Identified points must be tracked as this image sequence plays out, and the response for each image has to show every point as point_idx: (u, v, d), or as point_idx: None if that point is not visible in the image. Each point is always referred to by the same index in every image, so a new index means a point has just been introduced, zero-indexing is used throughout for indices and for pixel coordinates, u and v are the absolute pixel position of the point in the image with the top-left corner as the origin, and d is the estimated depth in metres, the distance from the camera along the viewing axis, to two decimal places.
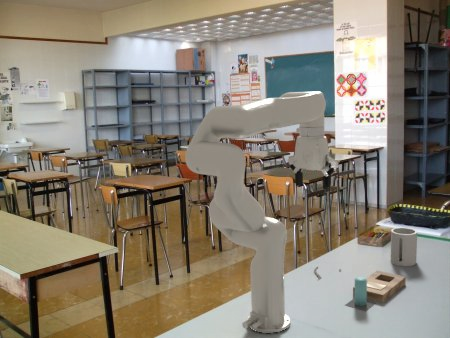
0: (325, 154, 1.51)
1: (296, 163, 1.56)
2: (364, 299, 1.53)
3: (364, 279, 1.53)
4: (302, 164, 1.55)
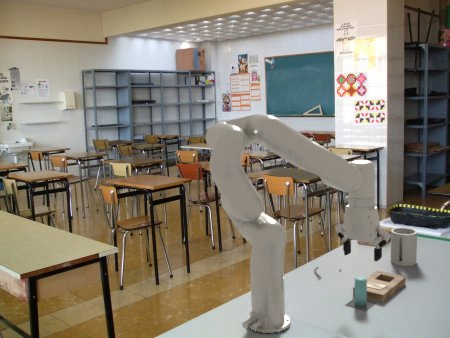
0: (376, 226, 1.46)
1: (345, 233, 1.51)
2: (364, 299, 1.53)
3: (364, 279, 1.53)
4: (352, 235, 1.50)
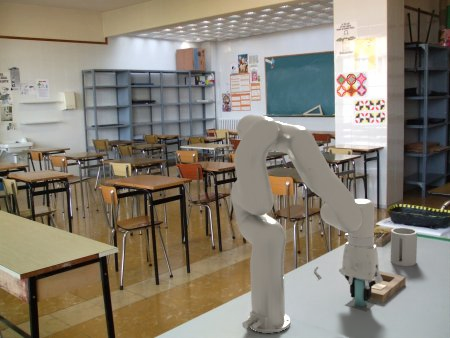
0: (375, 264, 1.48)
1: (344, 270, 1.53)
2: None
3: None
4: (350, 272, 1.52)
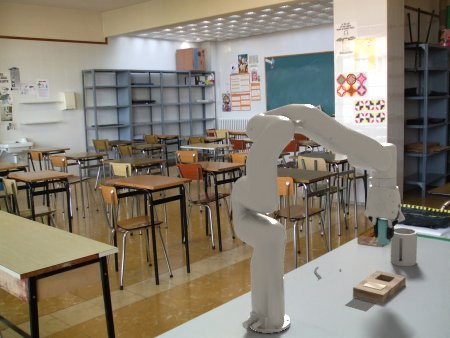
0: (398, 204, 1.58)
1: (368, 211, 1.63)
2: None
3: (387, 219, 1.62)
4: (374, 212, 1.61)
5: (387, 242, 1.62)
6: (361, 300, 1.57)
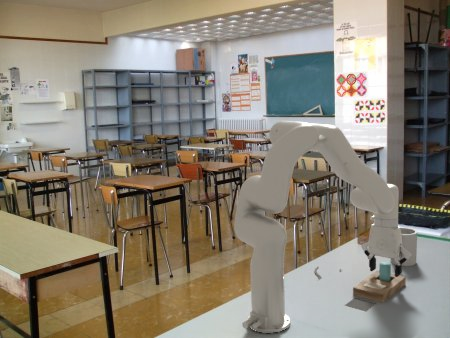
0: (399, 244, 1.61)
1: (370, 249, 1.66)
2: None
3: (388, 263, 1.66)
4: (376, 251, 1.65)
5: None
6: (361, 300, 1.57)
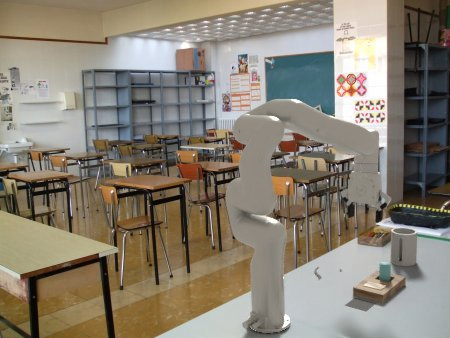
0: (379, 189, 1.59)
1: (349, 196, 1.64)
2: None
3: (388, 263, 1.66)
4: (355, 198, 1.63)
5: None
6: (361, 300, 1.57)
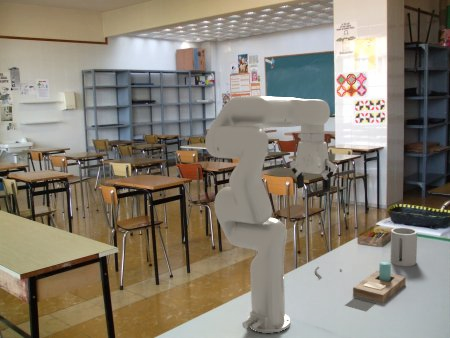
0: (325, 159, 1.61)
1: (297, 167, 1.66)
2: None
3: (388, 263, 1.66)
4: (303, 168, 1.64)
5: None
6: (361, 300, 1.57)
